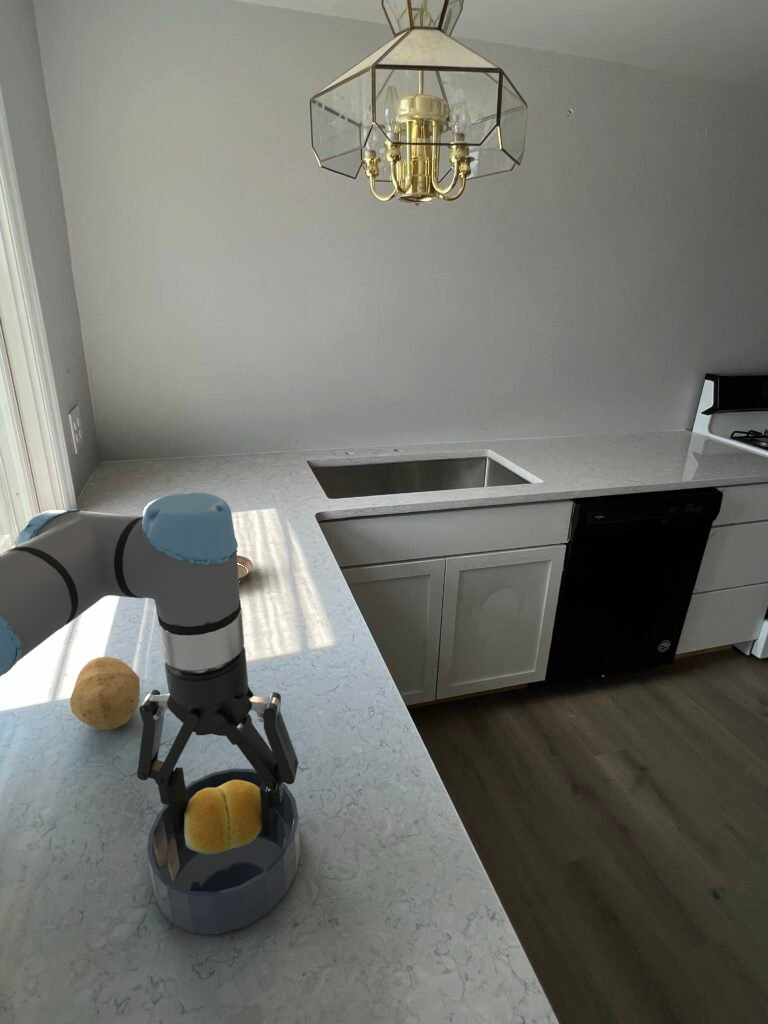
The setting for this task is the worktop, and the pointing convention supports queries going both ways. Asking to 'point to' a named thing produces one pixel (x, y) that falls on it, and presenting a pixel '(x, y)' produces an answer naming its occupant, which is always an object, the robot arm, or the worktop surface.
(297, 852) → the blue grey bowl
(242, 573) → the saucer
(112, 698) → the potato
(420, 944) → the worktop surface
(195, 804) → the bread roll
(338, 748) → the worktop surface
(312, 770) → the worktop surface
